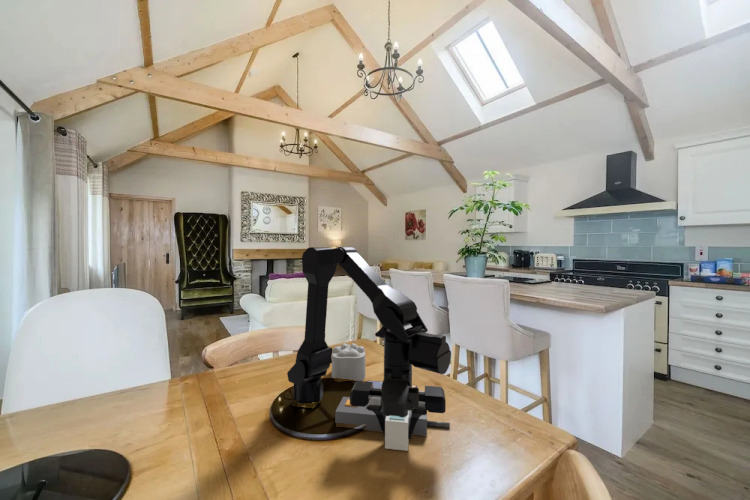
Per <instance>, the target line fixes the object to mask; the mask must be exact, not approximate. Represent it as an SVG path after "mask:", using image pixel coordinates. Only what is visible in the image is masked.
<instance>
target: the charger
mask: <svg viewBox="0 0 750 500" xmlns="http://www.w3.org/2000/svg"><path fill="white" fill-rule="evenodd" d="M408 431H409V411H408V415H407V416H406V417H399V416H391V415H390V416H386V419H385V438H384V449H386V450H389V449H390V450H396V451H406V452H408V451H409V443H410V442H409V441H410V440H408Z"/></svg>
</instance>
